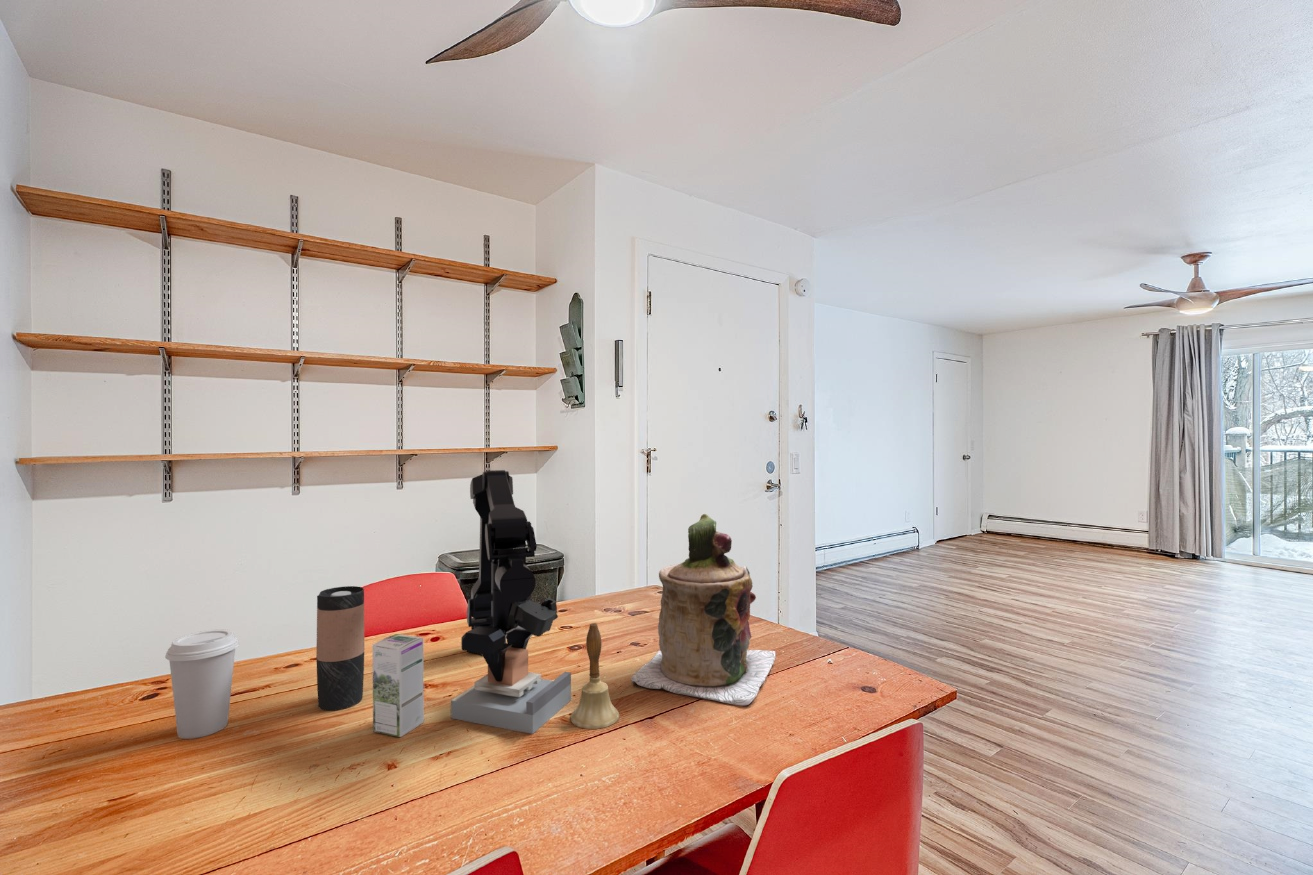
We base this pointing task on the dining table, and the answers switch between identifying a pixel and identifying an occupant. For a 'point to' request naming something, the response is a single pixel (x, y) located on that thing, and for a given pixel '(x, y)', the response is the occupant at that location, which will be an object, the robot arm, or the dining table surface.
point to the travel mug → (340, 647)
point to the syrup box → (398, 685)
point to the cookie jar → (706, 625)
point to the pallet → (508, 688)
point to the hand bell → (594, 691)
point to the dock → (514, 705)
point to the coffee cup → (202, 681)
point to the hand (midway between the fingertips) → (508, 675)
